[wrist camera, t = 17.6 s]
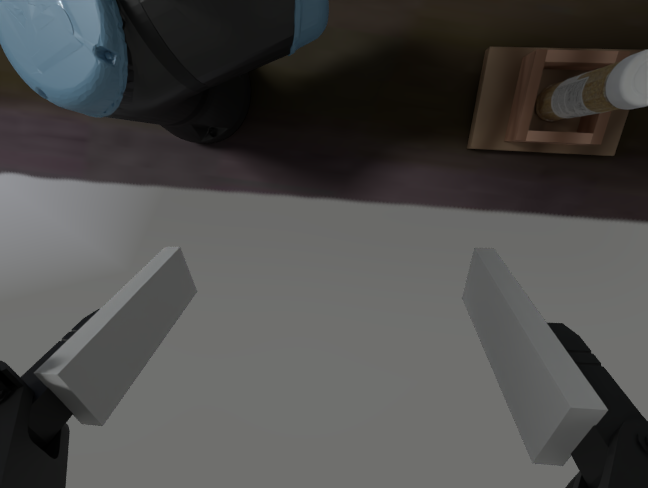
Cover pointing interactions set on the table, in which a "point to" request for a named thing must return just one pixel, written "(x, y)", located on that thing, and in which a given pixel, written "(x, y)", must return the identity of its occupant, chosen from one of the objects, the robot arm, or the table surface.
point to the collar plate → (520, 100)
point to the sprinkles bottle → (598, 90)
